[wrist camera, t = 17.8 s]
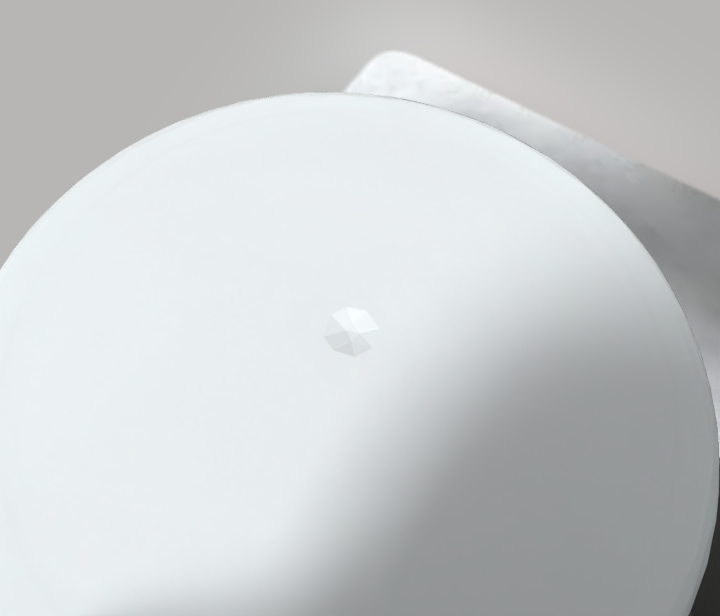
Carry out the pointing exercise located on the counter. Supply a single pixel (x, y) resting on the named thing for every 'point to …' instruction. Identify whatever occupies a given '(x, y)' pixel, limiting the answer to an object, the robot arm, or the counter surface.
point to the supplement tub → (346, 381)
